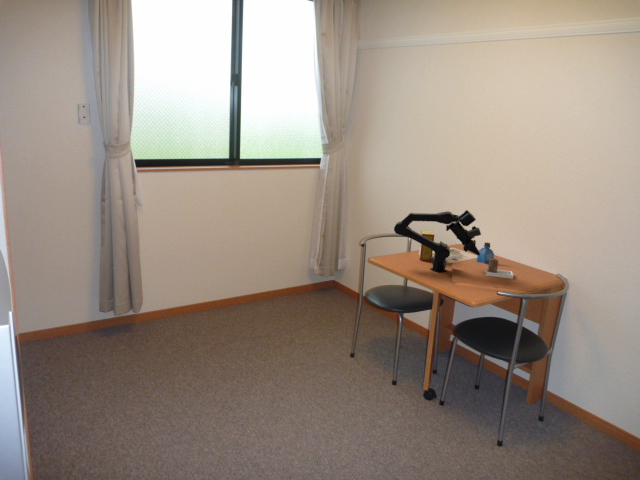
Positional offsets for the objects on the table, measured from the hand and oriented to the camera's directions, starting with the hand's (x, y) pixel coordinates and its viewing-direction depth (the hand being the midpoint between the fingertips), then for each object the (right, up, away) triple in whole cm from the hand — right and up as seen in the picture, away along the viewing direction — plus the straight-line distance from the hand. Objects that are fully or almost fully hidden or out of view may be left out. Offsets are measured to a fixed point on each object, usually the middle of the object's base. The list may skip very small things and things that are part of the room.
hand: (479, 254), depth 249 cm
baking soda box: (-22, -3, +28) cm, 36 cm away
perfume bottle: (+11, -6, +23) cm, 27 cm away
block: (+7, -10, +1) cm, 12 cm away
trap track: (+10, -12, 0) cm, 16 cm away
